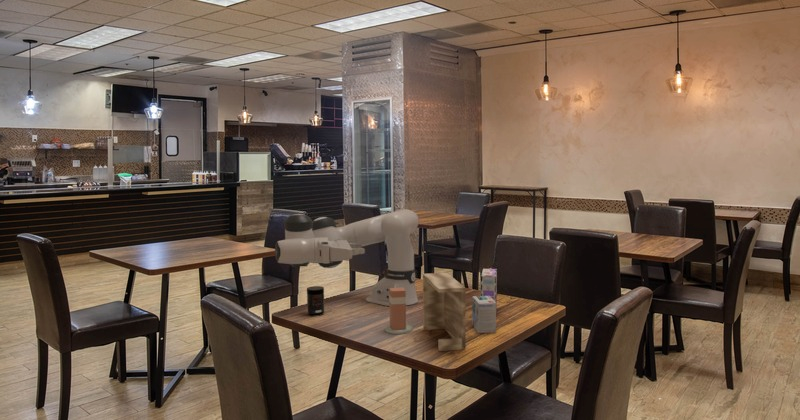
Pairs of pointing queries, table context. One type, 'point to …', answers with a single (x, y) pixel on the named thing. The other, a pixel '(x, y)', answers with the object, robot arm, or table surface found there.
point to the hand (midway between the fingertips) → (362, 248)
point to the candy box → (489, 283)
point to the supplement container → (315, 300)
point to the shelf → (445, 309)
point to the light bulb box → (484, 314)
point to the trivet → (389, 330)
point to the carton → (397, 308)
